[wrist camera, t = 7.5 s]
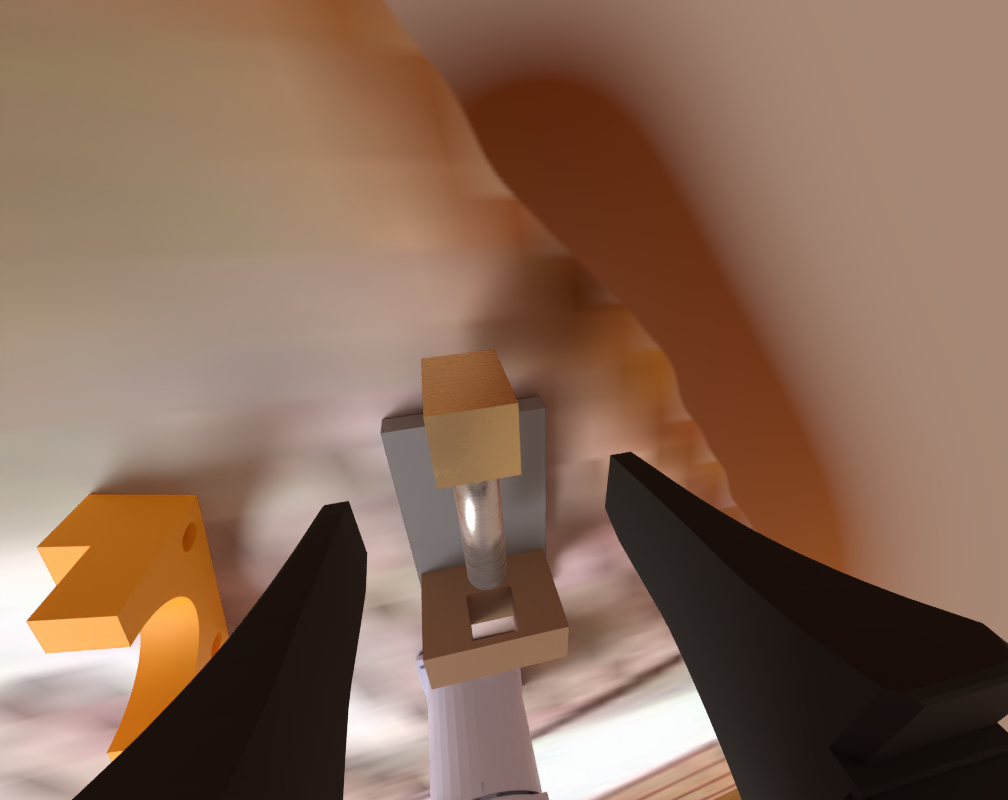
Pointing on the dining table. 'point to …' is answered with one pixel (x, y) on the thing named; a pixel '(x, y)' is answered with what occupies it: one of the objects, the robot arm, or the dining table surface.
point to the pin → (473, 451)
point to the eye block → (444, 568)
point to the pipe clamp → (134, 594)
